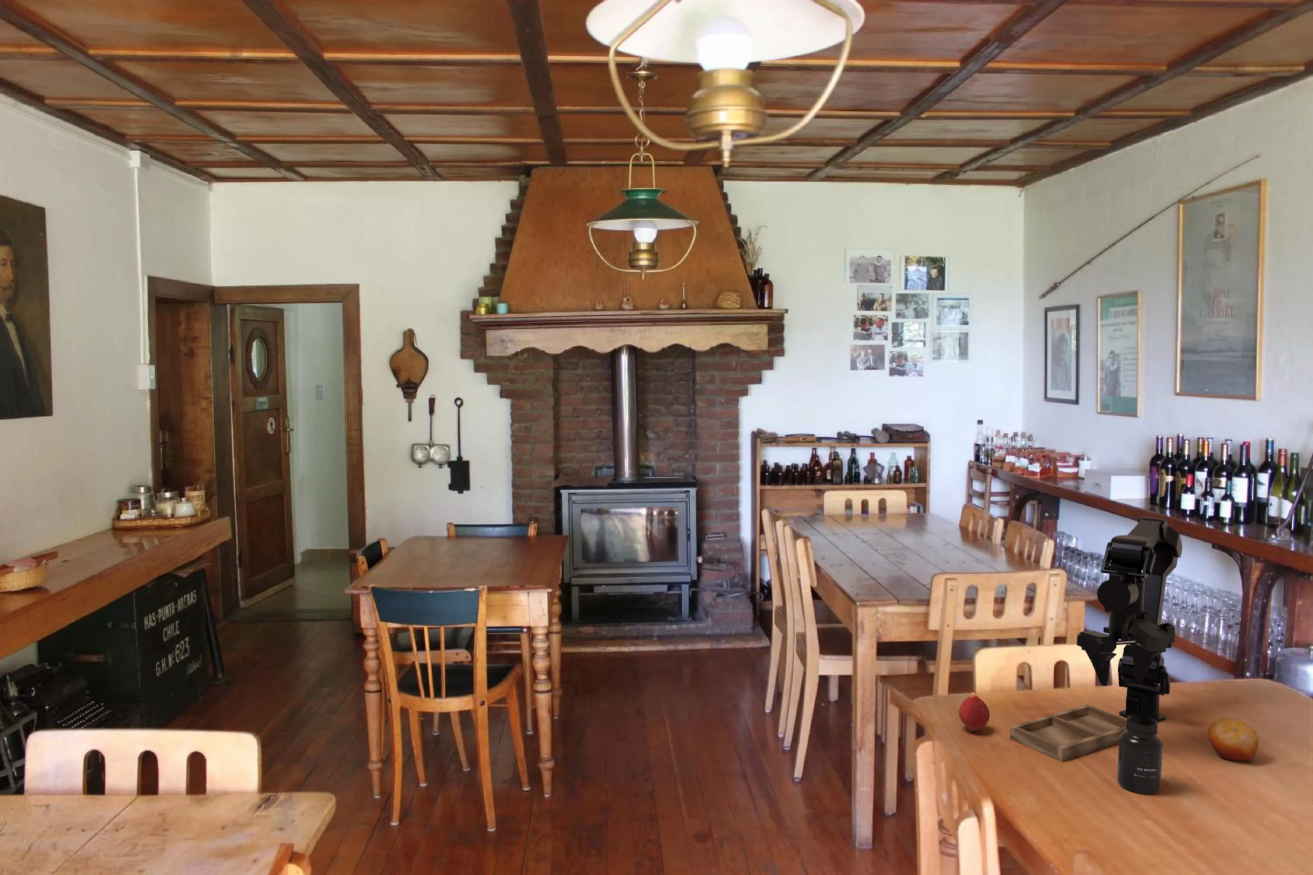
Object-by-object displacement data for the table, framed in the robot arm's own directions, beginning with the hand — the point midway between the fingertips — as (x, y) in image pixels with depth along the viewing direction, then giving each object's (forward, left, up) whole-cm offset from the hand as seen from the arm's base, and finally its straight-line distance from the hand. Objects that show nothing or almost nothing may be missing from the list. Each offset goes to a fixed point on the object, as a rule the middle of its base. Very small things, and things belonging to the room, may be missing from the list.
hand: (1121, 683), depth 177 cm
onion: (+19, -19, -13) cm, 30 cm away
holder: (+4, -7, -12) cm, 15 cm away
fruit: (-14, +13, -13) cm, 23 cm away
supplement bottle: (+12, +12, -13) cm, 21 cm away
